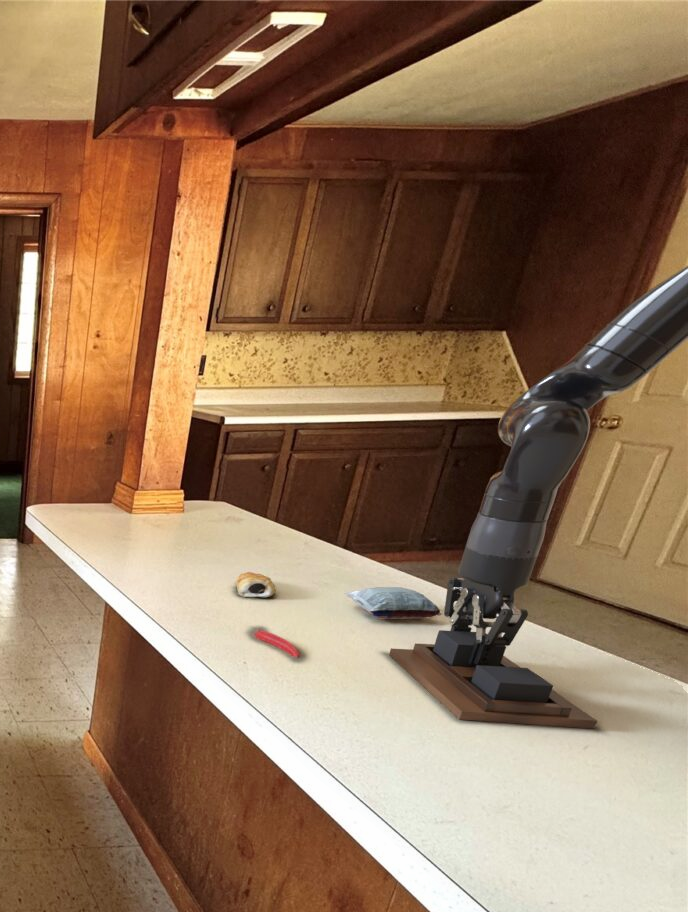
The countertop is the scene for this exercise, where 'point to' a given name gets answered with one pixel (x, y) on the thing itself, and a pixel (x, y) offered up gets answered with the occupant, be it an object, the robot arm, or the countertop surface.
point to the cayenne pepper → (277, 642)
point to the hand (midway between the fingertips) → (465, 656)
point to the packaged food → (394, 603)
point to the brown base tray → (473, 704)
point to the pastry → (255, 585)
